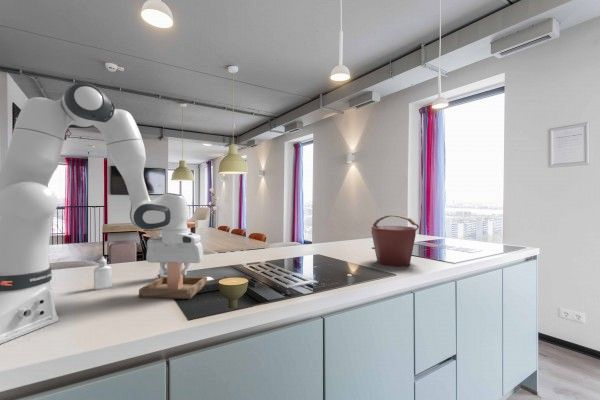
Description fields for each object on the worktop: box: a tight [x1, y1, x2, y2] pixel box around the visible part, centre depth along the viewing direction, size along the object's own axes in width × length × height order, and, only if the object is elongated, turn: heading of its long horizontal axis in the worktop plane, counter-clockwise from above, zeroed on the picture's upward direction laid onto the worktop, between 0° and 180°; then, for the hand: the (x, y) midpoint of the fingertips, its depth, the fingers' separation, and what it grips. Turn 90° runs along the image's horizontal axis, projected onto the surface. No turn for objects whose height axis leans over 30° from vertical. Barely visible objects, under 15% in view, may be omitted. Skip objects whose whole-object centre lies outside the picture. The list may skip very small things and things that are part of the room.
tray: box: [138, 276, 208, 300], centre depth 110 cm, size 16×18×3 cm
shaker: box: [167, 263, 184, 289], centre depth 110 cm, size 4×4×11 cm
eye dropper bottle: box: [93, 256, 113, 291], centre depth 114 cm, size 4×6×12 cm
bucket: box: [371, 214, 420, 268], centre depth 156 cm, size 24×22×25 cm
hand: (175, 274), depth 110 cm, fingers open, 5 cm apart
